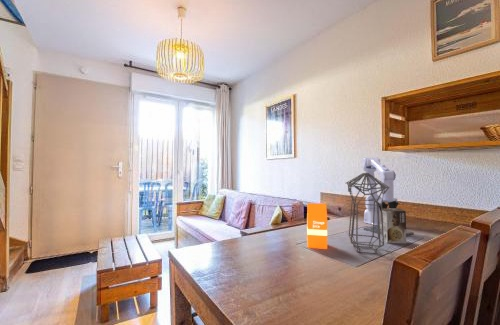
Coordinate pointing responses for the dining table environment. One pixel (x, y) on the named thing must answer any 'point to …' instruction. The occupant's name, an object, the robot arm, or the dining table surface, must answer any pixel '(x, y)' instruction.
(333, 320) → the dining table surface
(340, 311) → the dining table surface
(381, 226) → the stand base
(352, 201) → the geometric lantern
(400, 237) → the coffee box
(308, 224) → the orange juice
